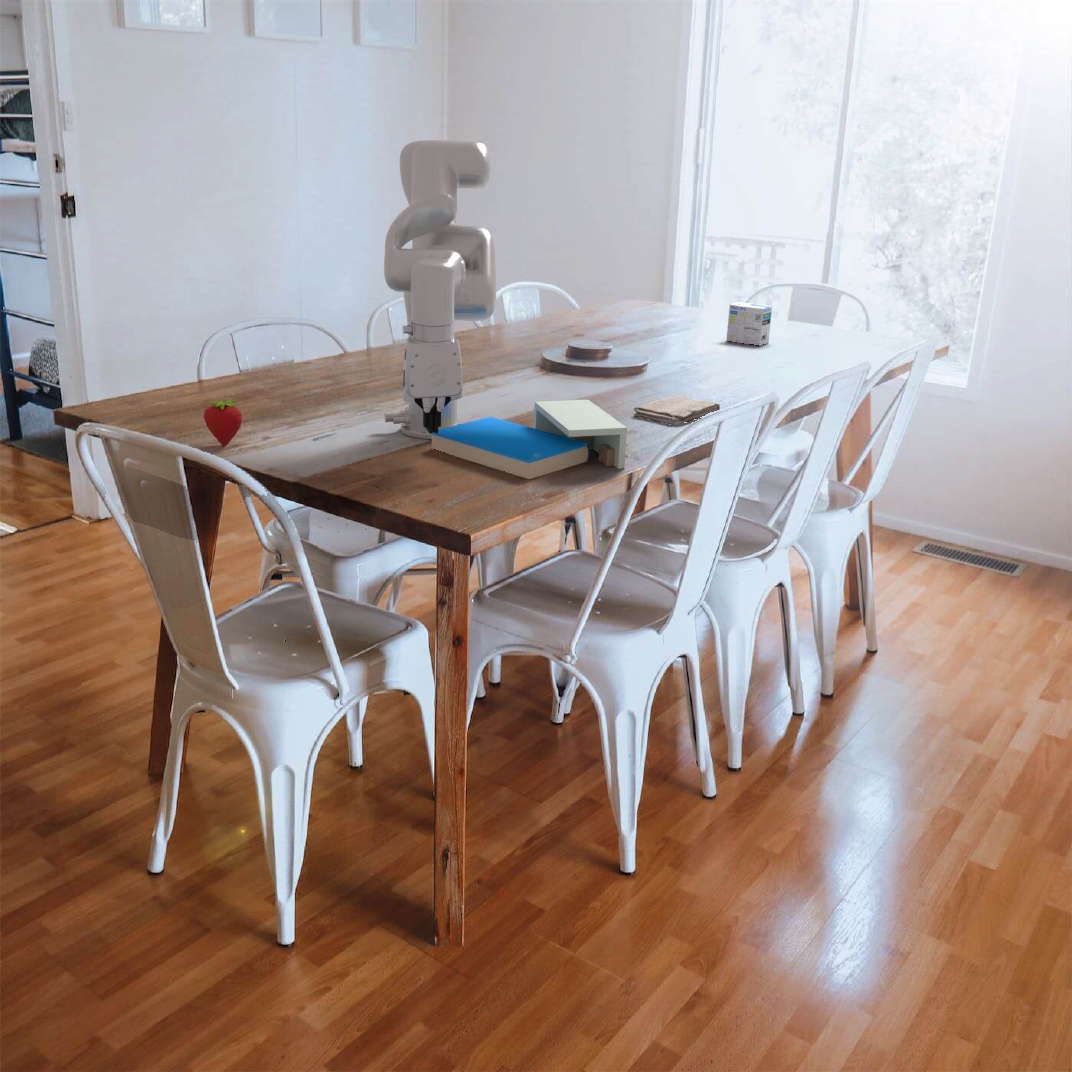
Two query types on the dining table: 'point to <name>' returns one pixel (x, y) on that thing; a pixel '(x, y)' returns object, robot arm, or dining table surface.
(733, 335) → the light bulb box
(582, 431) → the shelf
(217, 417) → the strawberry
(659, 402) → the washcloth
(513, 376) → the dining table surface
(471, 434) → the book
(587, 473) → the dining table surface
